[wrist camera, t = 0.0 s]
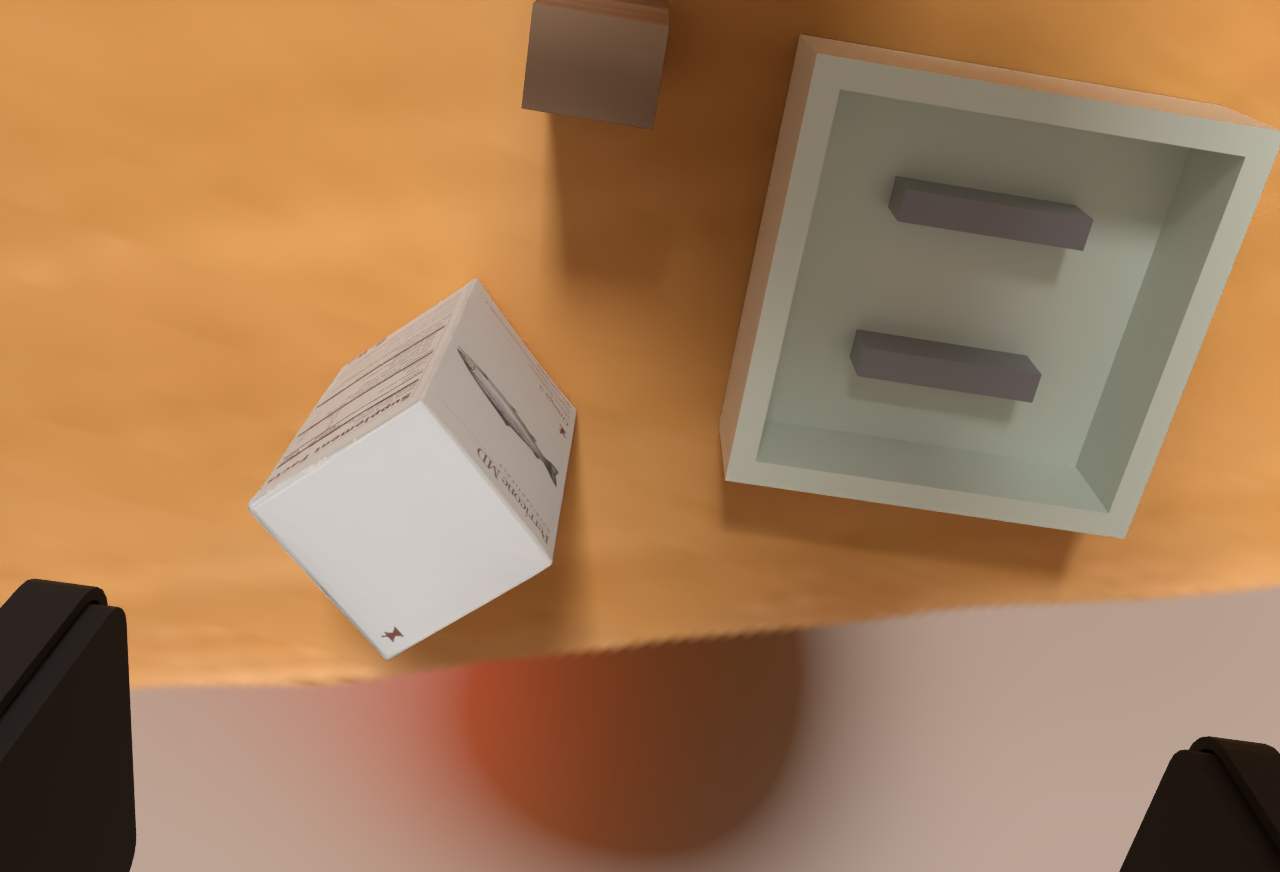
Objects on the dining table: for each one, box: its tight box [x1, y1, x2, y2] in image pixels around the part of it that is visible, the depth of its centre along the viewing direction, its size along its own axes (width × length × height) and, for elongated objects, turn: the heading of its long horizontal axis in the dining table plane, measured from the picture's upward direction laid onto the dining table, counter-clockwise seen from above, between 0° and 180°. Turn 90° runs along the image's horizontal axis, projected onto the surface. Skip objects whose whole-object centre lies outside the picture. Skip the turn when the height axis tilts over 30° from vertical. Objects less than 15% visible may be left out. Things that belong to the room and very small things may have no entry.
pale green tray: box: [719, 34, 1280, 539], centre depth 44 cm, size 16×16×5 cm
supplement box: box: [248, 278, 577, 660], centre depth 43 cm, size 7×7×13 cm
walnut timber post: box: [522, 0, 669, 130], centre depth 39 cm, size 3×4×9 cm
